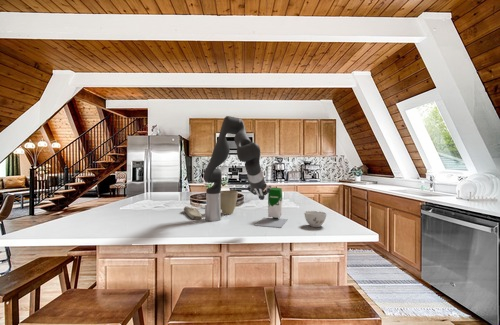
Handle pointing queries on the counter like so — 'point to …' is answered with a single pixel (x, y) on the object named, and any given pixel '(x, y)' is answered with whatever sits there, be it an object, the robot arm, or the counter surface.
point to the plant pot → (228, 201)
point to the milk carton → (275, 203)
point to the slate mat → (271, 222)
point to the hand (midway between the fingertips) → (262, 198)
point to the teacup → (315, 218)
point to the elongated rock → (193, 213)
